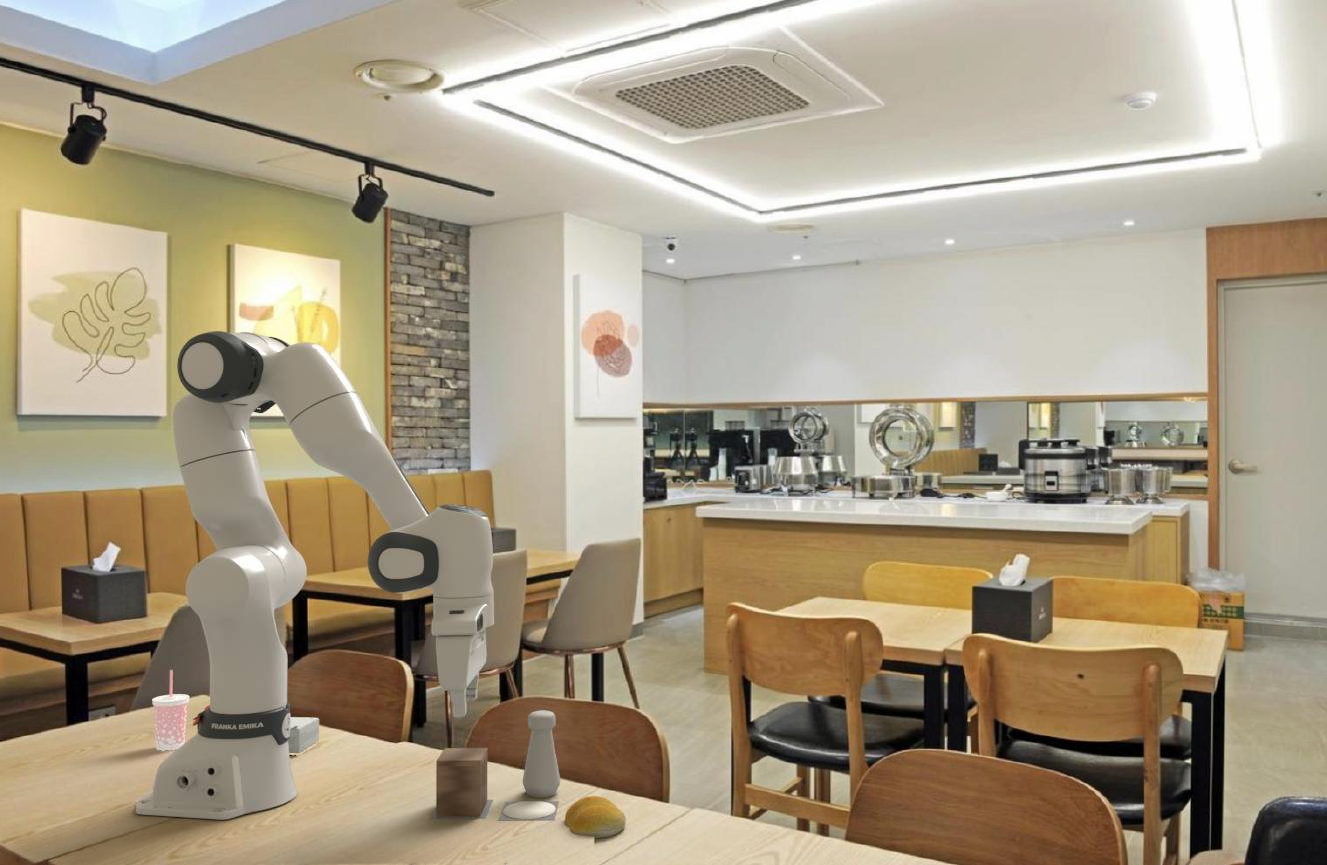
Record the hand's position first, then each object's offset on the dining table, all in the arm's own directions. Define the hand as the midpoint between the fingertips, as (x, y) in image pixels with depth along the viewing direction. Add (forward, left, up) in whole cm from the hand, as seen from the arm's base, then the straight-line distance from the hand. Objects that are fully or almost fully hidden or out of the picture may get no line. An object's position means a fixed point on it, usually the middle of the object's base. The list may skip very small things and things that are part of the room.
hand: (465, 708), depth 150 cm
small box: (-37, +34, -16) cm, 53 cm away
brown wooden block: (0, 0, -15) cm, 15 cm away
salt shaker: (+11, +7, -16) cm, 20 cm away
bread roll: (+19, -6, -16) cm, 26 cm away
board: (0, 0, -15) cm, 15 cm away
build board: (+10, -1, -15) cm, 18 cm away
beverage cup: (-59, +36, -16) cm, 71 cm away
